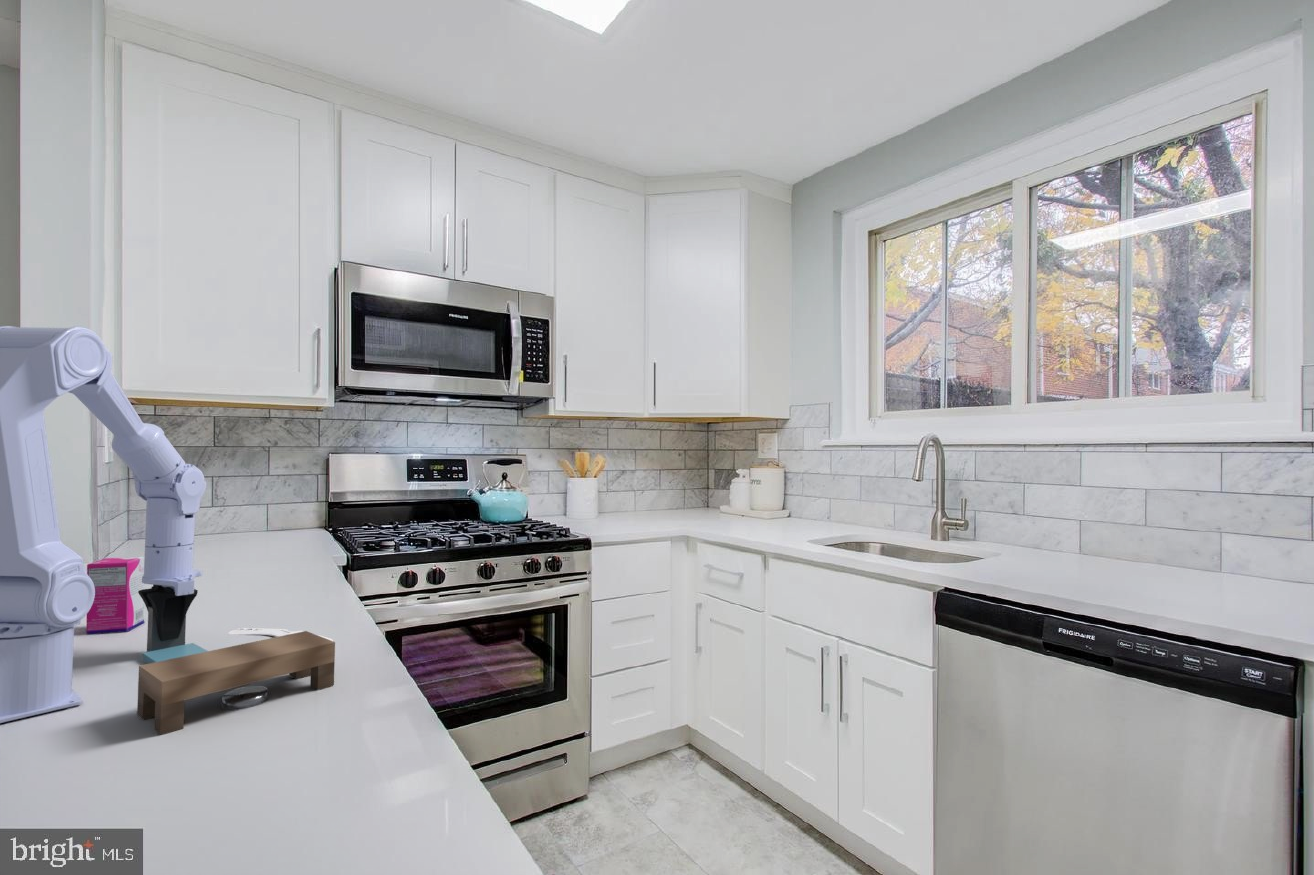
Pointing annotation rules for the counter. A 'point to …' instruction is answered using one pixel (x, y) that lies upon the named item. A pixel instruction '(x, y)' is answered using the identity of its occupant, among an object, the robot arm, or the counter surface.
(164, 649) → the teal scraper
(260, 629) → the knife
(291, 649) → the low wooden stool
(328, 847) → the counter surface
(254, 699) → the steel token
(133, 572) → the supplement box
